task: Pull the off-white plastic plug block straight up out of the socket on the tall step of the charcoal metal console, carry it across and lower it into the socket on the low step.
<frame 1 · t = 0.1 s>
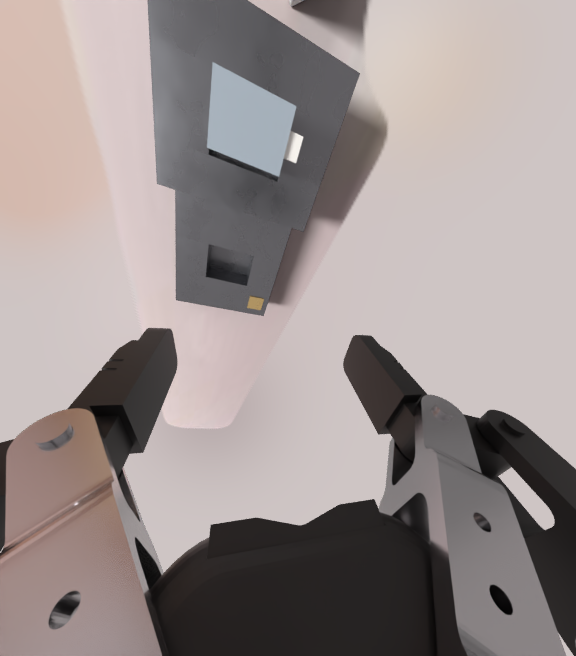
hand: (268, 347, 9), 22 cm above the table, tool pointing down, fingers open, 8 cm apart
plug: (250, 134, 17), point 6 cm above the table, touching console
console: (238, 211, 25), on the table
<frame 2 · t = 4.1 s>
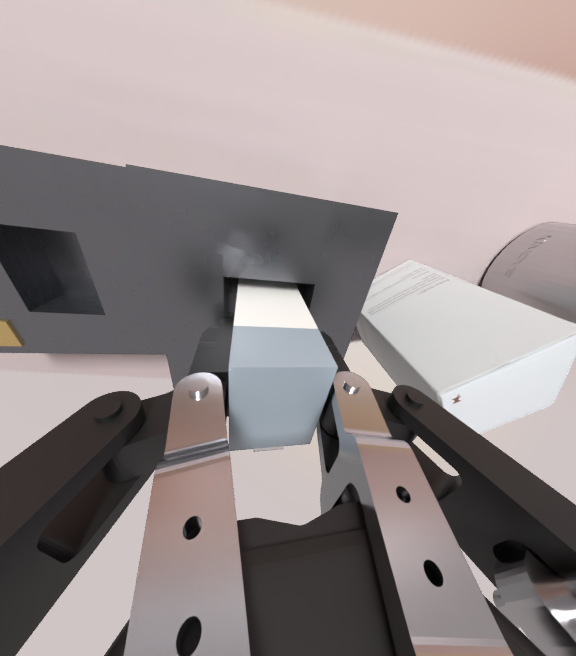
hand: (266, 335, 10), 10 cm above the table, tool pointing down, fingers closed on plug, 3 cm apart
plug: (263, 303, 13), point 6 cm above the table, touching console, gripper
console: (172, 265, 17), on the table
supplement box: (382, 303, 22), on the table
when the fingers open (5 cm above the table, at t = 10.7 s): plug stays where it is, resting on console.
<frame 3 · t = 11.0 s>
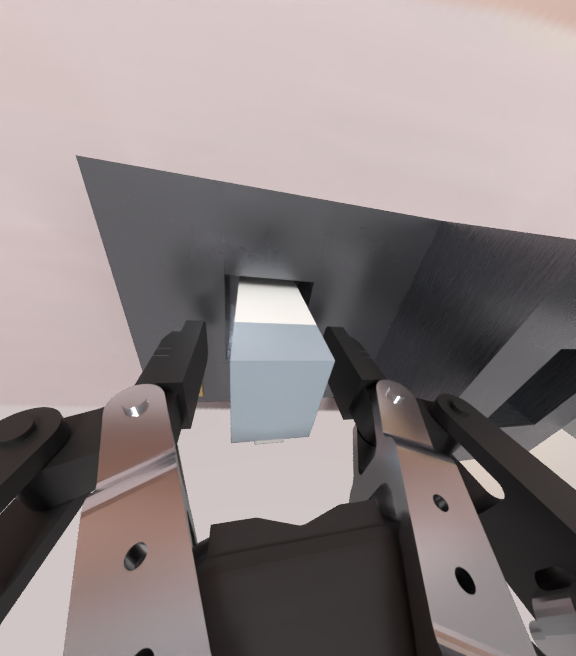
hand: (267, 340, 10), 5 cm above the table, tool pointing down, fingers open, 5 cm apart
plug: (263, 301, 13), point 1 cm above the table, touching console
console: (335, 300, 15), on the table
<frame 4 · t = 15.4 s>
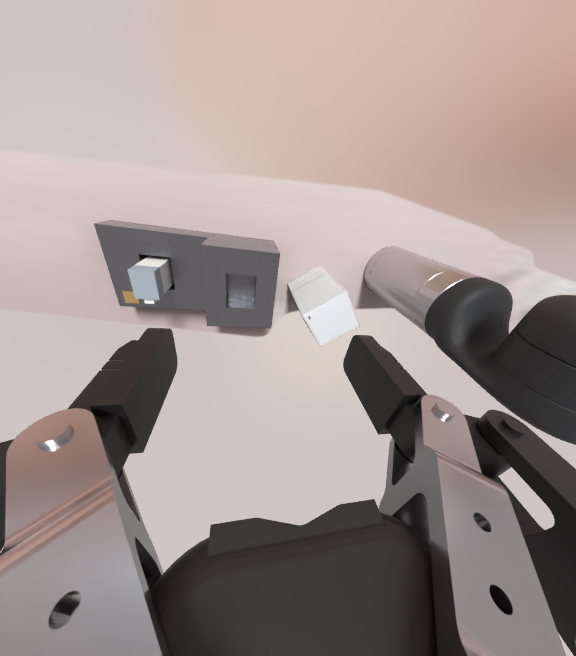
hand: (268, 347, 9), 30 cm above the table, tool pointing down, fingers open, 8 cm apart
plug: (164, 267, 34), point 1 cm above the table, touching console
console: (201, 268, 36), on the table
supplement box: (310, 288, 41), on the table
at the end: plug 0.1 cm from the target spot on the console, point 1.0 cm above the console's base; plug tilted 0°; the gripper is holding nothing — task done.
